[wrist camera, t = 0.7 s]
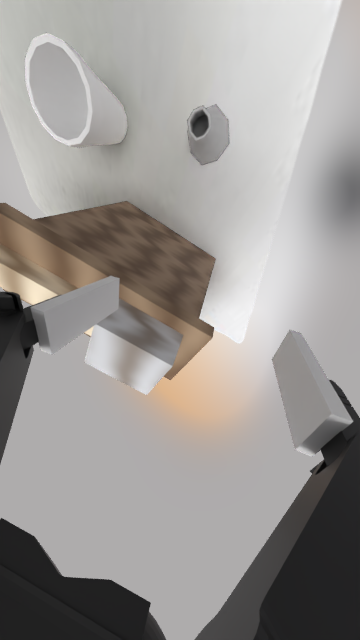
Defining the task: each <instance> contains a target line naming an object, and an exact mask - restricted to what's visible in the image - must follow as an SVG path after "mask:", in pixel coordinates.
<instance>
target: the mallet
mask: <svg viewBox="0 0 360 640" xmlns="http://www.w3.org/2000/svg"><path fill="white" fill-rule="evenodd" d="M0 287H1V288H3V289H5V290H7V291H8V292H14V293H17V294H19V295H20V298H21V299H23V300H25V301H27V302H29V303H31V304H32V305H34V304H37V303H40V302H42V301H45V300H47V299H51V298H53V297H55V296H58V295H63V294H66V293H68V292H71V291H73V290H76V289H78V288H77V287H76V286H74V285H72V284H70V283H68V282H67V281H65V280H63V279H61V278H60V277H58V276H56V275H54V274H53V273H51V272H49V271H47V270H46V269H44V268H42V267H40V266H39V265H37V264H35V263H33V262H32V261H30V260H28V259H26V258H25V257H23V256H21V255H19V254H18V253H16V252H14V251H12V250H10V249H9V248H7V247H5V246H3V245H2V244H0ZM84 333H86V334H88V335H90V336H91V339H90V342H89V346H88V350H87V354H86V358H85V361H84V363H86V364H88V365H90V366H92V367H94V368H96V369H98V370H100V371H101V372H104V373H105V374H107V375H109V376H111V377H113V378H115V379H117V380H119V381H121V382H123V383H125V384H127V385H129V386H130V387H133V388H134V389H136V390H138V391H140V392H142V393H144V394H146V395H147V394H148V393H149V392H150V391H151V390H152V388H153V387H154V386H155V385H156V384H157V383H158V382H159V381H160V380H161V378H162V377H163V376H164V375H165V374H166V373H167V372H168V371H169V370H170V369H171V368H172V366H173V364H174V361H175V358H176V355H177V352H178V349H179V347H180V344H181V341H182V338H183V335H182V334H181V333H179V332H177V331H175V330H174V329H172V328H170V327H168V326H167V325H165V324H163V323H162V322H160V321H158V320H156V319H155V318H153V317H151V316H149V315H148V314H146V313H144V312H143V311H141V310H139V309H137V308H136V307H134V306H132V305H130V304H129V303H127V302H125V301H124V300H122V299H120V298H119V307H118V310H116V311H115V312H113V313H112V314H110V315H109V316H107V317H106V318H105V319H103V320H102V321H100V322H99V323H97V324H96V325H94V326H93V327H92V328H90V329H89V330H87V331H86V332H84Z"/></svg>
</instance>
